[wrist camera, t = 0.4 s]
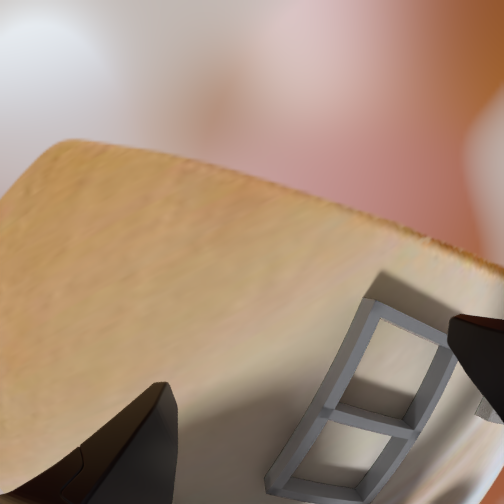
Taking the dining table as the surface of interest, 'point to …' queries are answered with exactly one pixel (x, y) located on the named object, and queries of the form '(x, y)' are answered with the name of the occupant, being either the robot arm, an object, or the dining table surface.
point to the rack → (361, 412)
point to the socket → (487, 412)
